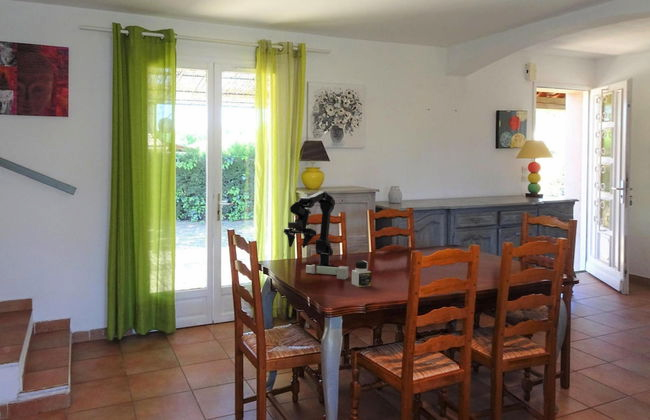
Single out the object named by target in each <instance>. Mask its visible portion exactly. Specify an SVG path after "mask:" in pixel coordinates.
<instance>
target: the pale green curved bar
mask: <svg viewBox="0 0 650 420" xmlns="http://www.w3.org/2000/svg"><path fill="white" fill-rule="evenodd" d="M337 268H338V267H335V266H334V267H333V266H318V265H316V274H324V275H333V276H334V275H336V276H337Z"/></svg>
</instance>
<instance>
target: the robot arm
mask: <svg viewBox="0 0 650 420" xmlns="http://www.w3.org/2000/svg"><path fill="white" fill-rule="evenodd" d="M316 203H318V204H319V208H320V211H321V223H320V233H319V234H320V235H319V238H318V239H316V240H315V247H314V248H315V252H316V253H315V254H316V255H319V263H318V264H317V266H323V267H330V266H331V265H332V263H330V256H331V257H332V256H333V254H334V250H333V248H332V246H331V245H332V244H331V241H330V239H329V234H330V224H331V213H333V211H334V209H335V205H336V200H335V199H334V197H333V196H332V195H330V194H328V193H327V191H322V190H321V191H320V190H319V191H317V192H316V193H314V194H312V195H309V196H301V197H299V199H298V200H297V201H294V203H293V204H291V206H290V208H289V211H290V213H291V214H293V215H294V216H296V218H297V219H295V220H294V221H292V222H291V221H290V222H288V223H287V225H288V227H285V228H284V229H283V234H284V235H286V236H287V239H288V241H287V242H288V247H289V248H292V247H293V243H294V241H295V238H296V234H299V235H300V234H301V235H303V241H302V248H303V249H304V248H305V247H306V246H307V245H308V244H309V243H310V241H311V240H312V239H313V238H315V237H317V231H316V230H315V229H313V228H309V227H308V228H307V226H309V225H310V224H309V222H308V221H309V216H310V215H312V212H311V210H310V209H311V208H313V207H314V206H315V204H316Z"/></svg>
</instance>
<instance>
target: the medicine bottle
mask: <svg viewBox="0 0 650 420" xmlns="http://www.w3.org/2000/svg"><path fill="white" fill-rule="evenodd" d="M368 263H369V262H368V261H366V260H357V261H355V266H354V267H355V269H352V270H351V285H353V286H355V287H357V288H361V287H363V288H364V287H370V286H371V285H372V271H370V270H368V267H369V264H368Z"/></svg>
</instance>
